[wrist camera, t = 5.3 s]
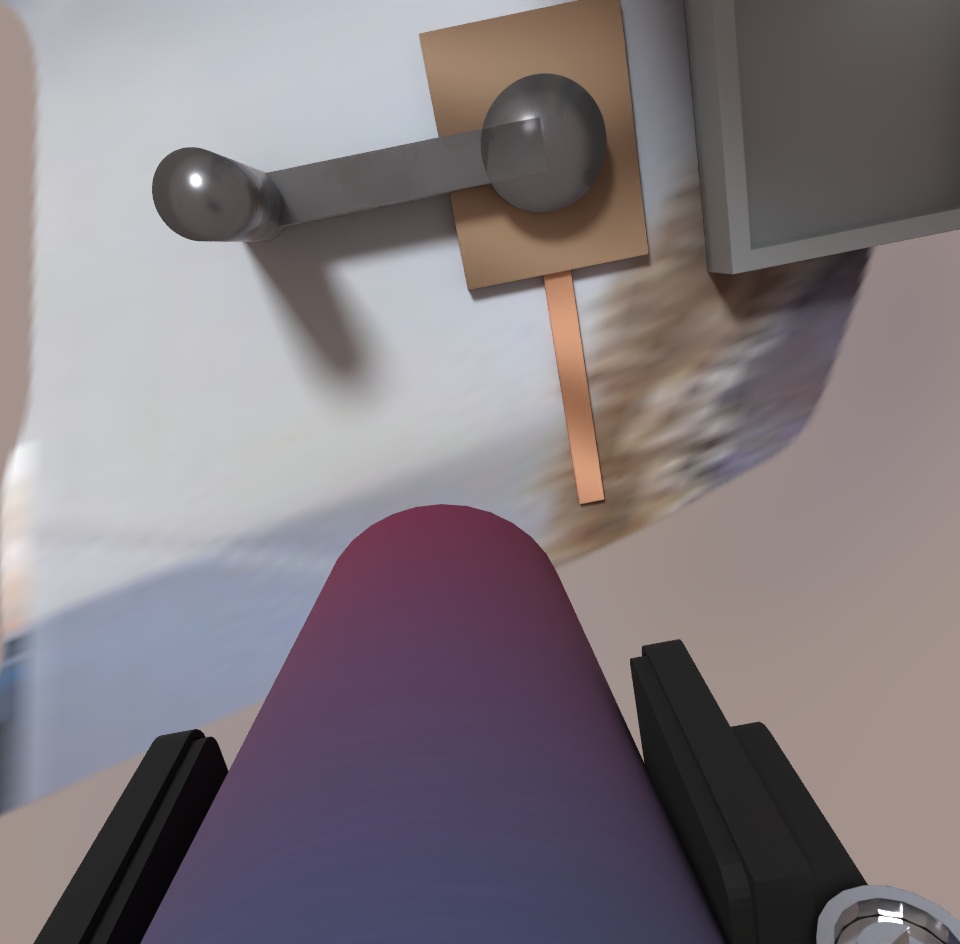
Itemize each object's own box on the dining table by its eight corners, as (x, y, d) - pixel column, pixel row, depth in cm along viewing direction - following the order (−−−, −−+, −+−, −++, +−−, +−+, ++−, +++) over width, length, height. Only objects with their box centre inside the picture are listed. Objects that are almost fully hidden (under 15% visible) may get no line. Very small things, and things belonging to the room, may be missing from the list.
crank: (591, 68, 28) (635, 13, 22) (608, 200, 30) (653, 187, 23) (204, 148, 29) (127, 119, 22) (240, 274, 30) (179, 283, 23)
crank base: (419, 38, 29) (419, 33, 28) (615, -3, 28) (619, -9, 28) (511, 514, 35) (511, 519, 34) (671, 484, 35) (674, 488, 34)
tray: (678, -55, 28) (704, -89, 25) (998, -122, 28) (1061, -165, 25) (707, 271, 32) (733, 274, 29) (988, 215, 32) (1041, 212, 29)
